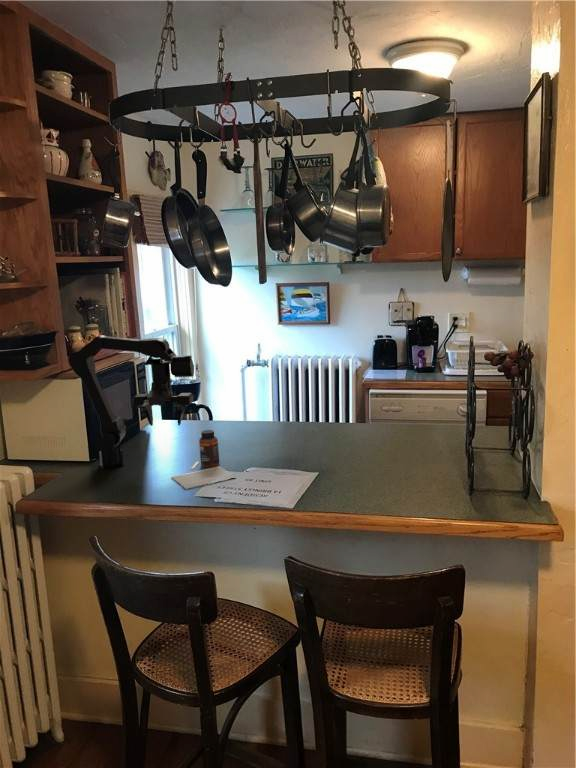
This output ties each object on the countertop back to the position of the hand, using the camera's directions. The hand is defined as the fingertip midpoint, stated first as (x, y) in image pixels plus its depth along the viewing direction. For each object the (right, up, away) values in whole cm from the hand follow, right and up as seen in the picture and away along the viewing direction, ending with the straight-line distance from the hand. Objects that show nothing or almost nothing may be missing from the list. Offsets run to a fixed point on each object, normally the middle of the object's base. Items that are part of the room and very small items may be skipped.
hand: (165, 425), depth 200 cm
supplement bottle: (+15, -13, -1) cm, 20 cm away
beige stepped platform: (+14, -15, -13) cm, 24 cm away
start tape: (+10, -13, 0) cm, 16 cm away
